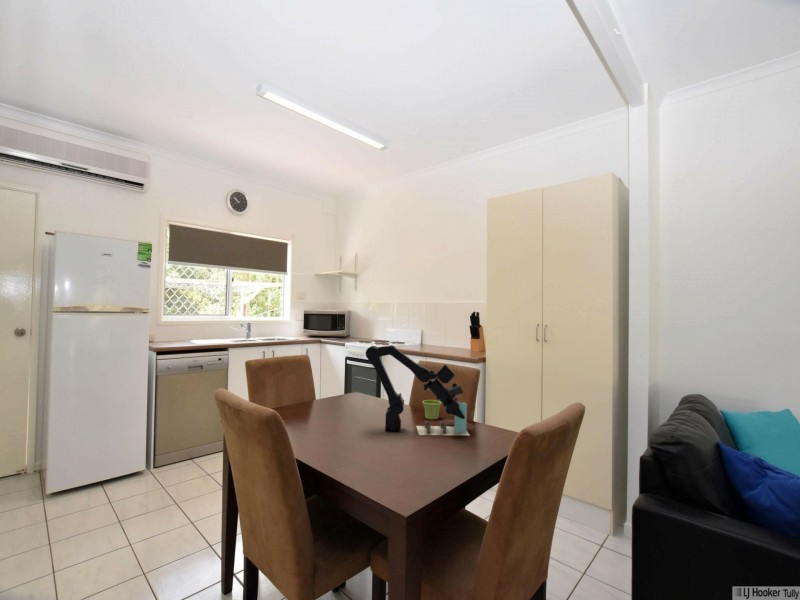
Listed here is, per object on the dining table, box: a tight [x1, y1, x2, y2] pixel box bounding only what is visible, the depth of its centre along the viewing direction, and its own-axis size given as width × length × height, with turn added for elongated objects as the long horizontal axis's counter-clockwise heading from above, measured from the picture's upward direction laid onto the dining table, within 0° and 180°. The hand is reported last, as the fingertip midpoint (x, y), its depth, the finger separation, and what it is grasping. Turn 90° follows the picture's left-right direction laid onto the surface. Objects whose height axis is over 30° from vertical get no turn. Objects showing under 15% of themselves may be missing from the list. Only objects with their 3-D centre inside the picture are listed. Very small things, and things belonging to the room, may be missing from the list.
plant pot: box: [422, 399, 442, 420], centre depth 185 cm, size 9×9×9 cm
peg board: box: [415, 420, 471, 437], centre depth 166 cm, size 22×12×4 cm, turn 93°
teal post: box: [453, 401, 468, 432], centre depth 166 cm, size 4×4×12 cm
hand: (463, 416), depth 166 cm, fingers closed on teal post, 5 cm apart
